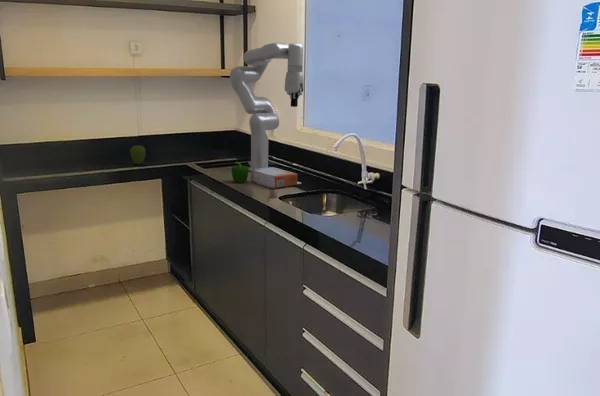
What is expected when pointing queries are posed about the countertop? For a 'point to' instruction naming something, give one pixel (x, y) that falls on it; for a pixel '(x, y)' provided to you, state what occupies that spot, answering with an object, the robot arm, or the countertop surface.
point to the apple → (138, 154)
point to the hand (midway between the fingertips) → (294, 106)
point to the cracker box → (274, 177)
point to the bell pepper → (240, 173)
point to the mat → (273, 187)
